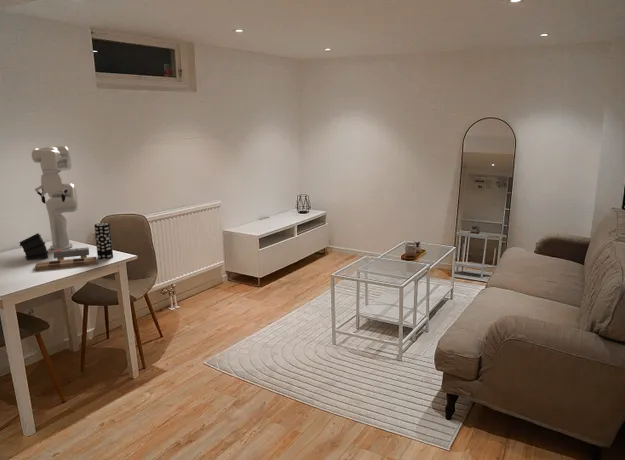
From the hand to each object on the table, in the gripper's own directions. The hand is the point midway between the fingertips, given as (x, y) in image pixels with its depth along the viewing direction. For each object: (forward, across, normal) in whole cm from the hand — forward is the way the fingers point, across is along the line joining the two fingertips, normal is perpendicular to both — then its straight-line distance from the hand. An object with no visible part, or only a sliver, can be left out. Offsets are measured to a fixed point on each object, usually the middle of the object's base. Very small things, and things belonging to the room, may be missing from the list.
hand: (53, 202), depth 273 cm
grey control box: (+33, -5, +7) cm, 34 cm away
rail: (+34, 0, +17) cm, 37 cm away
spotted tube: (+34, -21, +13) cm, 42 cm away
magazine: (+33, +12, -9) cm, 36 cm away
